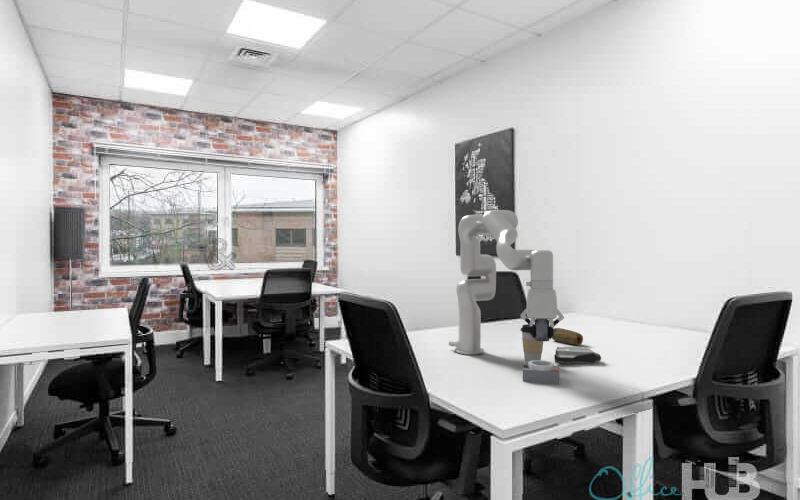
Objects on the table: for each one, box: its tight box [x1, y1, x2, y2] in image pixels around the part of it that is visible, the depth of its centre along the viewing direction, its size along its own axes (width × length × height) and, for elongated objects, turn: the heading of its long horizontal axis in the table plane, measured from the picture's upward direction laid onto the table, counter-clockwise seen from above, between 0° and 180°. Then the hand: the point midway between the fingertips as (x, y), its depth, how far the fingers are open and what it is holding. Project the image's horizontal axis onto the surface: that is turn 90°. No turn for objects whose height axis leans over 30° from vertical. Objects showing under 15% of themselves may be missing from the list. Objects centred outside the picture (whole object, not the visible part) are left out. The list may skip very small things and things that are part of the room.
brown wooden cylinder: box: [551, 327, 584, 346], centre depth 226 cm, size 15×7×7 cm, turn 37°
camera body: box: [522, 359, 560, 385], centre depth 165 cm, size 12×9×6 cm
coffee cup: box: [520, 323, 544, 363], centre depth 186 cm, size 9×9×15 cm
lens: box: [534, 319, 550, 342], centre depth 165 cm, size 5×5×7 cm
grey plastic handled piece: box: [553, 346, 602, 364], centre depth 193 cm, size 16×20×5 cm
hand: (541, 337), depth 165 cm, fingers closed on lens, 5 cm apart
